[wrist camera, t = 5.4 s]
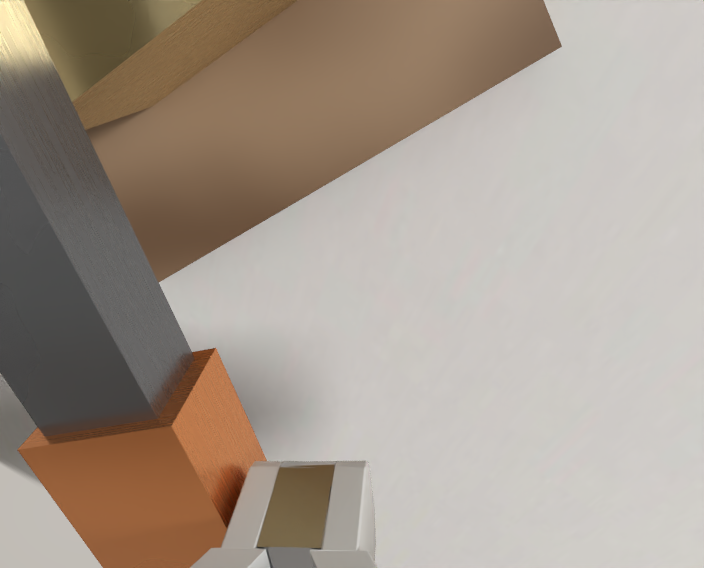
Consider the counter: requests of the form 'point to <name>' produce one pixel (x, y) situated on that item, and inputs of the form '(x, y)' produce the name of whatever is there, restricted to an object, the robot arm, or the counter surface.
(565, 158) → the counter surface
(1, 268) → the valve lever
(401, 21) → the base board
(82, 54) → the valve body
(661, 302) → the counter surface
